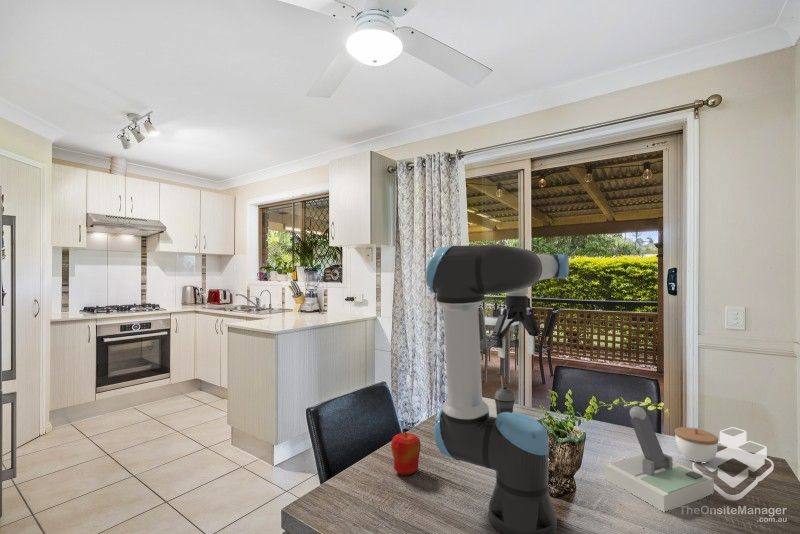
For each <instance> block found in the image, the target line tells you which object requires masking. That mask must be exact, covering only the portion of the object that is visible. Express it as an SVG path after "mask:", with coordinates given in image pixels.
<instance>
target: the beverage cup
mask: <svg viewBox="0 0 800 534" xmlns="http://www.w3.org/2000/svg"><path fill="white" fill-rule="evenodd" d="M500 381H501V387H500V388H498V389H497V390H496V392H495V393H494V397H493V398H494V403H495V407H496V408H495V409H496V410H495V411H496V416H497V415H498V414H500V413H503V412H509V413H512V412H514V406H515V401H516V400H515V399H516V398H515V395H514V393H513V391H512V390H511V389H510V388H509V387H505V386H504V382H503V375H500Z"/></svg>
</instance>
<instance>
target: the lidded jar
mask: <svg viewBox="0 0 800 534" xmlns="http://www.w3.org/2000/svg"><path fill="white" fill-rule="evenodd" d="M674 434H675V435H674V437H675V444H676V447H677V450H678V451H679V452H680V454H681V455H683V457H684V456H685V457H687V458H689V459H692V460H695V461H701V462H708V461H709V462H710V461H713V460H714V459H715V457H716V456H717V453H718V443H719V438H718V436H716V435H715V434H714V433H711V432H709V431H706V430H703V429H698V428H697V427H687V426H685V427H682V426H680V427H676V428H675V429H674ZM685 457H684V458H685ZM709 462H708V463H709Z"/></svg>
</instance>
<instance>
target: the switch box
mask: <svg viewBox="0 0 800 534" xmlns="http://www.w3.org/2000/svg"><path fill="white" fill-rule="evenodd" d="M663 454H664V456H665V459H666V460H667V462H668V466H667V467H665V468H662V469H659V470H655V471H654V462H652V461H650V460H648V459H646V458H645V457H644V454H643V453H642V454H639V455H636V456H632V457H627V458H624V459H621V460H617V461H613V462H610V463H608V464H605V465H604V467H605V468H604V469H605V471H604V472H605V473H604V474H605V480H606V481H608V482H609V483H611V484H613V485H614V484H615V486H616V485H617V486H616V487H618V488H620V487H621V488H620V489H622V488H623V489H625V490H627V491H628V492H627V491H626V492H627V493H629V492H630V493H632V494H633V495H632V494H631V495H632V496H634V495H635V496H634V497H636V496H637V497H639V498H641V499H642V500H641V499H640V500H641V501H643V500H644V501H643V502H645V501H646V502H648V503H649V504H648V503H647V504H648V505H650V504H651V505H650V506H652V505H653V506H654V507H653V506H652V507H653V508H655V507H656V508H655V509H657V508H658V509H657V510H658V511H660V510H661V511H660V512H662V511H663V513H666V512H669V511H672V510H674V509H677V508H680V507H683V506H685V505H688V504H690V503H693V502H696V501H699V500H701V499H705V498H707V497H709V496H708V495H710V494H712V493H715V492H714V485H715V484H714V478H712V477H711V476H708V475H706V474H704V473H701V472H699V471H697V470H694V469H691V468H690V467H688V466H685V465H683V464H681V463H678V462H677V461H674V460H673V456H671V455H668V454H666V453H663ZM623 489H622V490H623ZM625 490H624V491H625ZM630 493H629V494H630ZM712 495H713V494H712ZM706 496H707V497H706ZM710 496H711V495H710ZM637 497H636V498H637ZM639 498H638V499H639ZM646 502H645V503H646ZM668 510H669V511H668ZM665 511H666V512H665Z"/></svg>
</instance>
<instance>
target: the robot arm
mask: <svg viewBox="0 0 800 534" xmlns="http://www.w3.org/2000/svg"><path fill="white" fill-rule="evenodd" d="M569 274H570V260H569V256H568V255H567V254H563V253H562V254H561V253H553V254H552V253H549V254H548V253H547V254H546V253H535V252H533V251H532V250H530V249H527V248H521V247H520V248H519V247H515V246H509V245H505V244H504V245H503V244H476V245H475V244H474V245H449V246H441V247H438V248H436V249H435V251H433V252H432V254H431V256H430V257H429V259H428V262H427V265H426V272H425V280H426V281H425V282H426V286H427V289H428V290H429V291H430V292H431V293H433V294H436V302H437V303H438V305H439V306H440V307H442V311H443V326H444V327H443V329H444V347H445V349H444V350H445V367H446V370H445V371H446V372H445V373H446V390H447V391H446V392H447V393H446V394H447V400H446V401H445V402H444V403H443V404H442V406H441V408H440V409H439V411H438V412H437V414H436V417H435V424H434V427H433V432H434V436H433V437H434V441H435V443H436V447H437V449H438V450H439V452H440V453H441V454H442V455H444V456H446V457H448V458H451V459H453V460H455V461H458V462H459V461H461V462H463V463H464V462H465V463H468V464H471V465H475V466H479V467H483V468H487V469H489V470H493V471H495V474H496V476H495V477H496V479H495V481H496V482H495V485H494V489H493V491H492V495H491V497H490V500H489V502H488V519H489V521H490V523H491V525H492V526H493V527H494V529H495V530H497V531H498V532H499V533H501V534H556V533H557V528H558V524H557V523H558V519H557V514H556V511H555V508H554V505H553V501H552V499H551V495H550V493H549V452H550V447H549V446H550V445H549V439H548V431H547V429H546V427H545V426H544V425H543V424H542V423H541V422H540V421H539V420H537V419H535V418H533V417H531V416H529V415H526V414H523V413H519V412H514V411H513V412H512V413H509V412H503V413H500V414H498V415H497V414H496V417H494V416H490V408H489V405H488V404H487V402H485V400H483V388H482V386H483V385H482V363H481V339H480V338H481V337H480V318H479V317H480V314H479V313H480V312H479V307H480V306H481V304H482V303H484V302H485V295H502V294H506V296H505V306H506V308H505V309H504V308H499V311H498V317H497V320H496V322H495V325H494V328H493V329H492V334H491V336H492V337H494V338H496V347H497V357H499V358H502V359H506V338H505V335H506V334H507V332H508V330H509V329H510V328H511V326H512V324H514V323H517V322H520V323H521V324H522V326H523V327H524V328H525V329H524V330H526V332H527V333H528V335H527V336H526V353H527V354H529V355H532V356H533V355H535V345H536V337H538V336H539V334H540V333H541V330H540V329H539V325H538V322H537V320H536V317H535V314H534V309H533V308H531V307H528V306H529V297H528V294H529V288H530V287H532V286H534V285H535V284H536V283H538V282H540V281H544V280H548V279H549V280H550V279H557V280H559V279H567V278H568V276H569Z"/></svg>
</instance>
